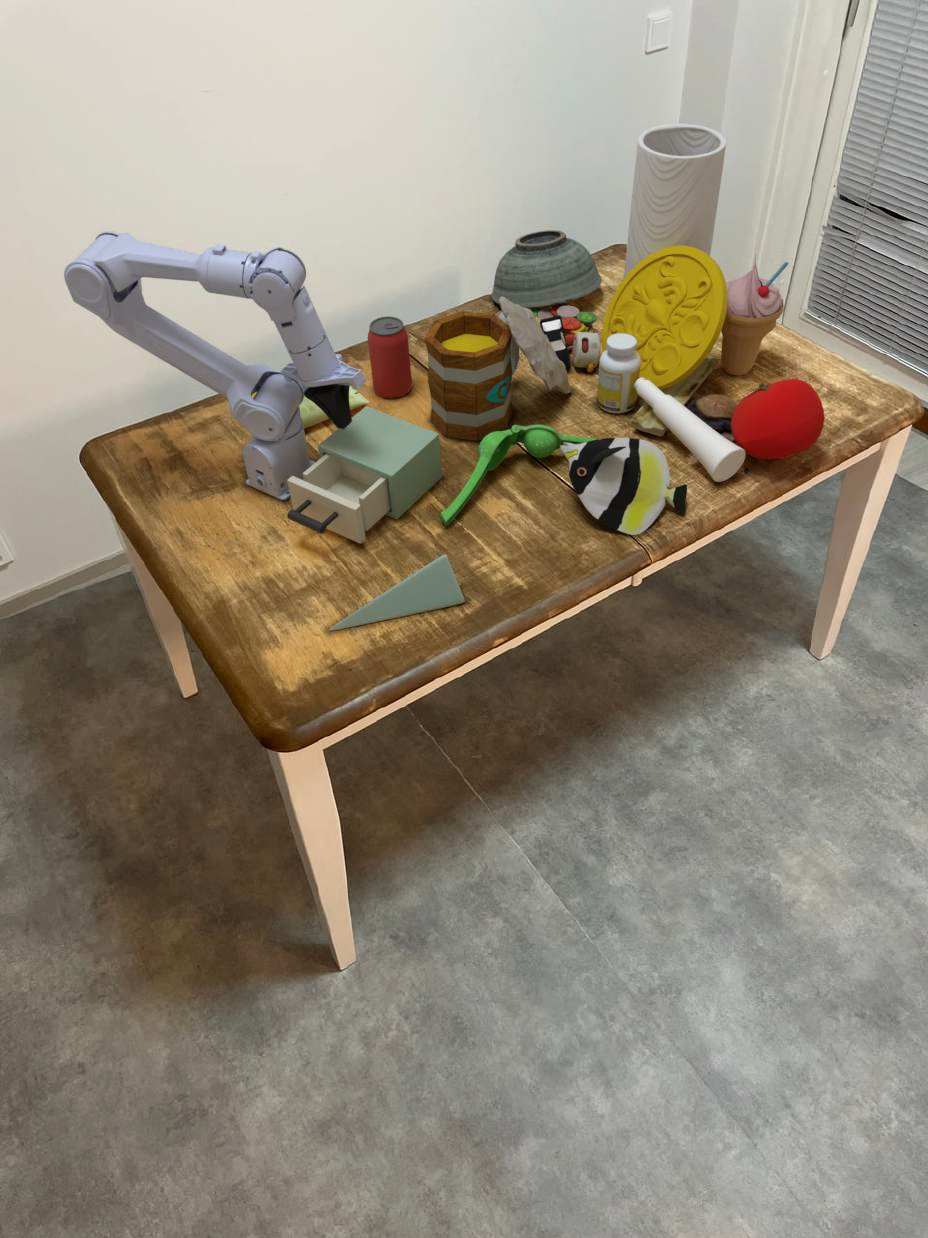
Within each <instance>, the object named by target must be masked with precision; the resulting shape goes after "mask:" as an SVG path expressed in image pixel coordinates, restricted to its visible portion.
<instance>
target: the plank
mask: <svg viewBox="0 0 928 1238" xmlns="http://www.w3.org/2000/svg"><path fill="white" fill-rule="evenodd" d="M718 364H719V360H718V358H715V357H712V358H706V359H705V360H704V361H703V362H702V363H701V364H700V366H699V367H698V368H697V369H696V370H695V371H693V372H692V373H691V374H690V375H689V376H687V377H686V378H685V379H683V380H682V381H680V382H679V383H677V384H675V385H673V386H671V387H669V388H665V389H662V390H661V391H662V392H663V393H664V394H665V395H670V396H672V397H673V398H674V399H676V400H677V401H678V402H680V403H681V404H682V405H683V406H685V407H686V405H687V403H688V402H689V401H690V400H691V399H692V398H693V395H694V394H695V393H696V392H697V390H698V389H699V388H700V387H701V385H702V384H703V382H705V380H706V379H707V377H708V376H709V375H710V374H711V372H712V371H714V370H715V369H716V368H717V367H718ZM630 424H631V426H632V427H633V428H635V429H637V430H639V431H642V432H645V433H648V434H651V435H654V436H656V437H663V436H664V435H665V433H666V432H667V430H669V428H668V427H667V426H666V425H665V424H664V423H663V422H662V421H661V420H660V419H659V418H658V417H657V416H656V415H655V413H654V412H653V408H652V407H651V406H650V405H649V404H648V403H647V402H646V401H644V403H643V404H642V405H641V407H640V408H639V409H638V410H637V412H636V413H635V414H634V415H633V416H632V418H631V419H630Z"/></svg>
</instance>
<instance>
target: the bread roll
mask: <svg viewBox="0 0 928 1238" xmlns="http://www.w3.org/2000/svg"><path fill="white" fill-rule="evenodd" d="M737 405H738V403H736V402H735V401H734V400H733V399H731V398H730V397H728V396H725V395H723V394H716V393H713V394H711V393H710V394H705V395H704V396H703V395H698V396H696V397H695V398H694V399H693V400H692V401H690V403H689V404H688V405H687V406H685V407H686V408H687V409H688V410H690V411H691V412H692V413H693V414H695V415H696V416H697V417H698V418H700V419H701V420H702V421H703V422H705V423H706V424H707V425H708V426H710V427H711V428H712V429H714V430H715V431H716V432H718V433H719V434H720V435H722V436H723V437H725V438H726V439H727V440H729V441H731V442H732V443H735V442H736V441H735V440H734V437H733V435H732V430H731V422H732V416H733V413H734V410H735V408H736V406H737Z"/></svg>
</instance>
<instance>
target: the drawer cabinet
mask: <svg viewBox="0 0 928 1238" xmlns="http://www.w3.org/2000/svg"><path fill="white" fill-rule="evenodd" d="M351 417H352V422H351V423H350V424H349V425H348V426H347V427H346V428H345V429H339V428H337V429H336V430H335V431H334V432H332V433H331V434H330V435H329V436H327V437H326V438H325V439H323V440H322V441H321V442H320V443H319V444H318V445H317V449H318V456H319V459H321V458H322V457H323V456H324V455H325V454H327V453H328V454H330V455H332V456H335V457H337V458H340V459H342V460H345V461H347V462H349V463H352V464H354V465H357V466H359V467H361V468H364V469H366V470H369V471H371V472H374V473H376V474H378V475H381V476H383V477H386V478H388V482H389V491H390V499H391V509H390V510H389V511H388V512H387V513H386V514H385V515H384V516H386V517H389V518H392V519H394V520H396V521H397V520H399V518H400V517H401V516H403V515H404V514H405V513H406V512H407V511H408V510H409V509H410V508H411V507H412V506H413V505H414V504H416V502H417V501H419V499H420V498H422V497H423V496H424V495H425V494H426V493H427V492H428V491H429V490H431V488H432V487H434V485H435V484H437V483H438V482H439V481H440V480H441V479H442V478H443V470H442V456H441V439H440V433H438V432H436V431H433V430H430V429H429V428H426V427H422V426H420V425H417V424H414V423H412V422H410V421H406V420H404V419H401V418H399V417H397V416H393V415H391V414H388V413H385V412H383V411H380V410H378V409H375V408H373V407H370V406H365V407H363V408H362V409H361V410H360V411H358V412H357V413H356V414H354V415H353V416H351Z"/></svg>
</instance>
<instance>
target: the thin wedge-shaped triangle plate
mask: <svg viewBox="0 0 928 1238" xmlns="http://www.w3.org/2000/svg"><path fill="white" fill-rule="evenodd" d="M465 602H466V600H465V597H464V595H463V592H462V589H461V587H460V585H459V582H458V580H457V577H456V575H455V572H454V570H453V567H452V565H451V562H450V559H449V557H448V554H446V553H443V554H442V555H440V556H439V557H437V558H436V559H434V560H432V561H431V562H429V563H428V564H426V565H425V566H423V567H421V568H420V569H418V570H417V571H415V572H414V573H412V574H411V575H409V576H408V577H406V578H405V579H403V580H402V581H399V582H398V583H396V584H395V585H393V586H392V587H391V588H389V589H388V590H386V591H385V592H383V593H382V594H380V595H378V596H377V597H375V598H374V599H372V600H371V601H369V602H368V603H366V604H364V605H363V606H361V607H360V608H358V609H357V610H355V611H354V612H352V613H351V614H349V615H347V616H346V617H345V618H343V619H342V620H340V621H338V622H337V623H335V624H334V625H333V626H331V627H330V628H329V631H331V632H332V631H338V630H342V629H348V628H353V627H357V626H363V625H368V624H372V623H377V622H382V621H386V620H391V619H392V620H393V619H396V618H402V617H406V616H407V617H408V616H410V615H415V614H420V613H425V612H429V611H434V610H439V609H444V608H448V607H452V606H453V607H454V606H457V605H460V604H461V605H462V604H464V603H465Z"/></svg>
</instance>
